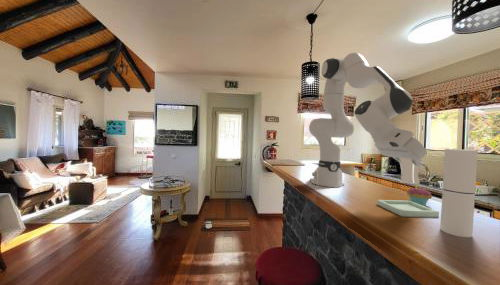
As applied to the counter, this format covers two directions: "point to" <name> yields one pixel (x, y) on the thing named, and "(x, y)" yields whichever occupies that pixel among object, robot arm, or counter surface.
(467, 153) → the cylindrical container
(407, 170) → the white upright block
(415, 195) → the cupcake
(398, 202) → the tray
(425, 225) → the counter surface
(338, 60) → the robot arm
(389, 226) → the counter surface
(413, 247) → the counter surface
